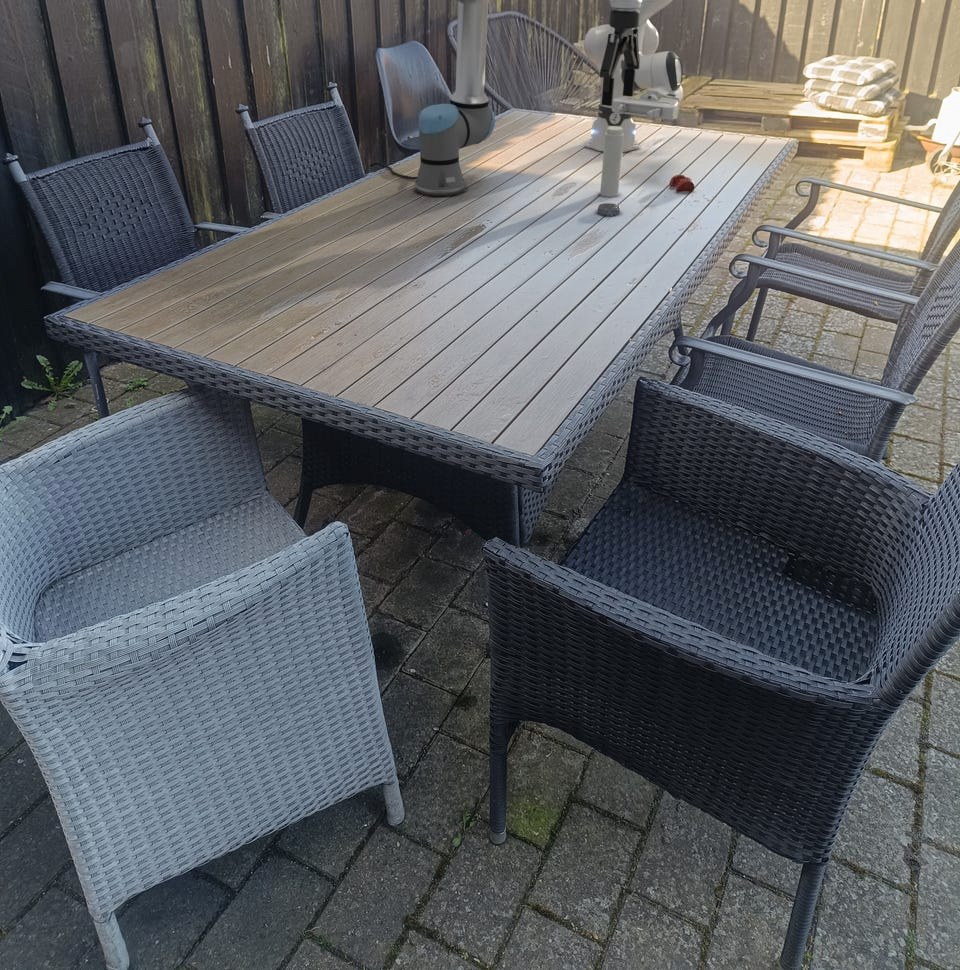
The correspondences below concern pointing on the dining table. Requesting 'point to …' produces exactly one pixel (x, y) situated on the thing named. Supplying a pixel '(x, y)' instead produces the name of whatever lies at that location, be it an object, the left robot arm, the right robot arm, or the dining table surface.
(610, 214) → the lid
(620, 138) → the bottle
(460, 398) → the dining table surface
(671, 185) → the dental model
